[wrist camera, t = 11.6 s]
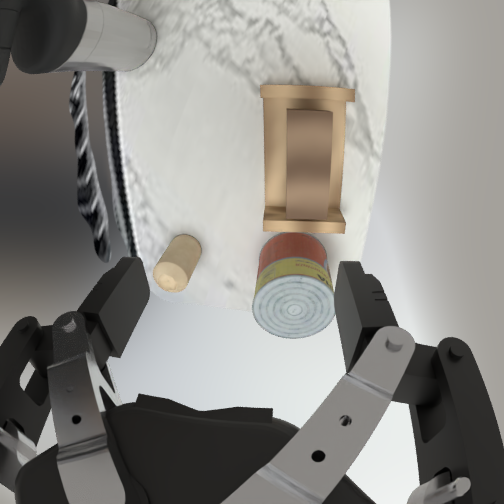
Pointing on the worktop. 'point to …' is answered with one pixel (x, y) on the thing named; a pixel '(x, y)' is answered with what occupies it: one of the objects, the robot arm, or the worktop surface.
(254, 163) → the worktop surface
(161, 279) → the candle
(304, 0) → the worktop surface
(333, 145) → the peg frame
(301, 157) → the brown wooden block
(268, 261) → the canned food
